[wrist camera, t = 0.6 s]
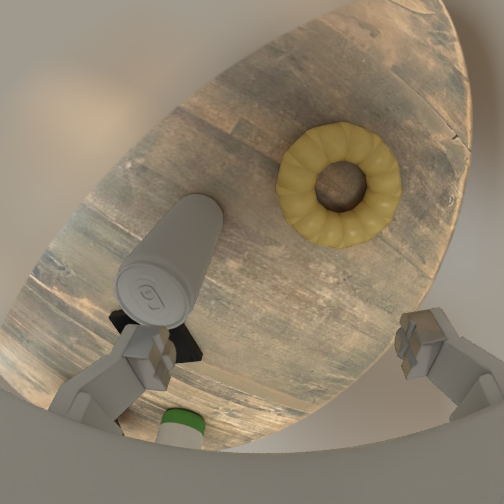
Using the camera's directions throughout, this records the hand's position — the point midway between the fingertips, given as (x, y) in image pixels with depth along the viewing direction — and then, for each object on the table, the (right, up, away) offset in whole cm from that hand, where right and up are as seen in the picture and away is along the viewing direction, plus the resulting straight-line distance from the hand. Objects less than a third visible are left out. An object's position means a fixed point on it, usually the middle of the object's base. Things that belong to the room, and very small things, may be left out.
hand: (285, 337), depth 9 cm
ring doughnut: (+6, +8, +12) cm, 16 cm away
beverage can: (-6, +6, +16) cm, 18 cm away
